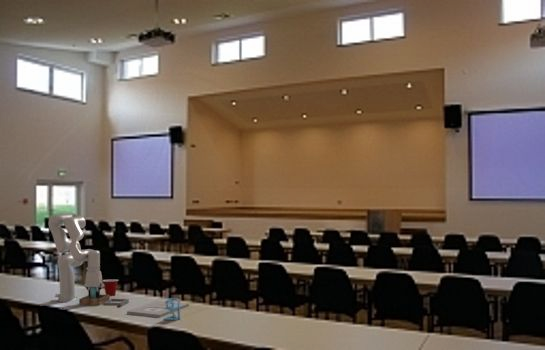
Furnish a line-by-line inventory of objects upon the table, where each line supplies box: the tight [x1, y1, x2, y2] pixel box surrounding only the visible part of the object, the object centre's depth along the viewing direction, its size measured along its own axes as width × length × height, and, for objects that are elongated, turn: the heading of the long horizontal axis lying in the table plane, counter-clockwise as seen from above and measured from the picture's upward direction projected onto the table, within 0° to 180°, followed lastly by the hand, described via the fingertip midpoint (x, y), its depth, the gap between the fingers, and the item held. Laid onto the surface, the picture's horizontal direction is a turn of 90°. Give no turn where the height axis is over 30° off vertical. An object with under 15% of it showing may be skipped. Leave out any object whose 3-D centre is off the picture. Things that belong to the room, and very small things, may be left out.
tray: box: [102, 298, 130, 308], centre depth 345 cm, size 12×12×2 cm
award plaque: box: [126, 300, 190, 319], centre depth 328 cm, size 25×30×2 cm
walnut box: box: [79, 294, 111, 306], centre depth 347 cm, size 14×14×5 cm
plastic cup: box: [102, 278, 119, 297], centre depth 370 cm, size 11×11×12 cm
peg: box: [90, 287, 98, 299], centre depth 348 cm, size 4×4×9 cm
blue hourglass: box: [163, 297, 181, 321], centre depth 304 cm, size 8×8×12 cm
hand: (94, 296), depth 348 cm, fingers closed on peg, 4 cm apart
